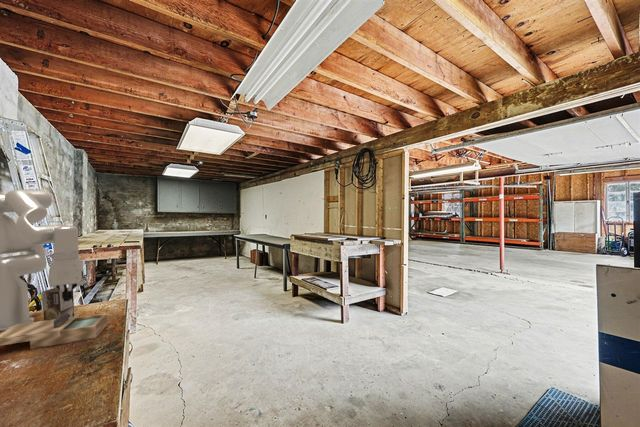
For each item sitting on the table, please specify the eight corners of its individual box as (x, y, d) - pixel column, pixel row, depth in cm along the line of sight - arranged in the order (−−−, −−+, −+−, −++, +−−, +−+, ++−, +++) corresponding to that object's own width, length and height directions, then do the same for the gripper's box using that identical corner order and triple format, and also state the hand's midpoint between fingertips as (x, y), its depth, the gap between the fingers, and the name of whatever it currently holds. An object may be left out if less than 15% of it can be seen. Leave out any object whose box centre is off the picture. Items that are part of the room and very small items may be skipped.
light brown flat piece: (-11, 347, 98) (-12, 333, 98) (17, 329, 113) (16, 317, 113) (60, 336, 106) (59, 323, 106) (78, 320, 120) (77, 309, 120)
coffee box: (75, 321, 128) (73, 287, 127) (61, 327, 122) (59, 291, 121) (58, 320, 129) (56, 286, 128) (43, 326, 122) (41, 291, 122)
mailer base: (30, 348, 103) (29, 335, 103) (50, 332, 116) (50, 321, 116) (95, 338, 111) (94, 326, 110) (107, 324, 124) (107, 313, 123)
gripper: (37, 259, 106) (38, 305, 107) (85, 256, 111) (86, 301, 112) (47, 255, 113) (49, 299, 114) (92, 253, 118) (93, 295, 119)
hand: (67, 300), depth 113 cm, fingers closed
